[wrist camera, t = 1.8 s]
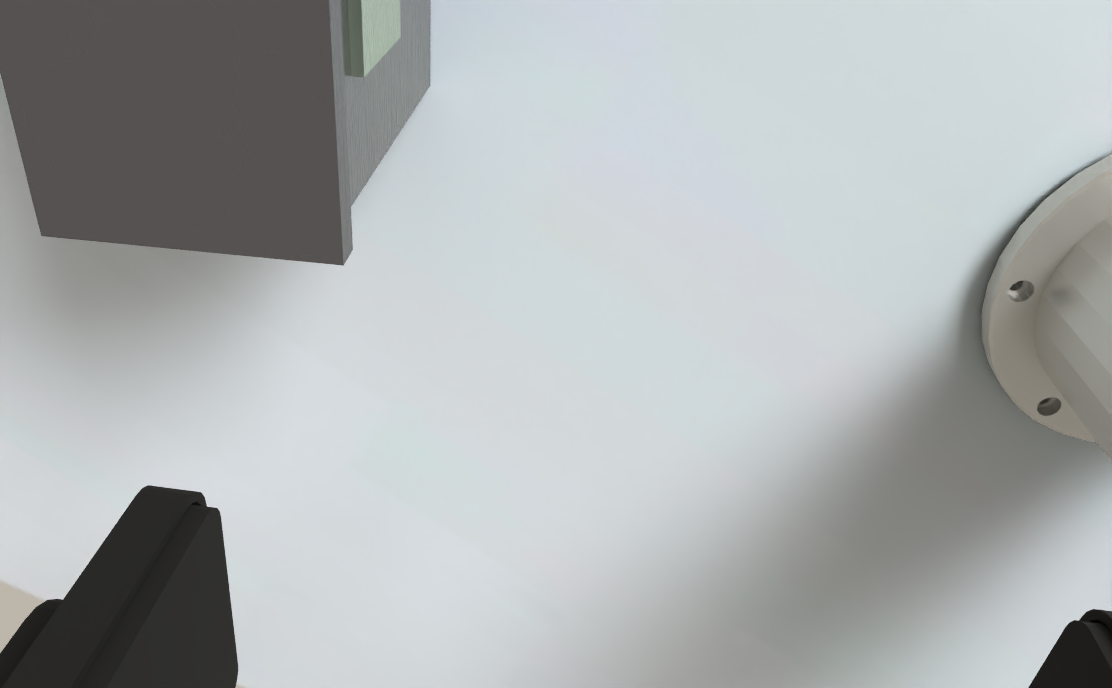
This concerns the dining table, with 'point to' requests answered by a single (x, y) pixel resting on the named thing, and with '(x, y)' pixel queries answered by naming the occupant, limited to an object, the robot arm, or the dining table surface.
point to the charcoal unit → (210, 116)
